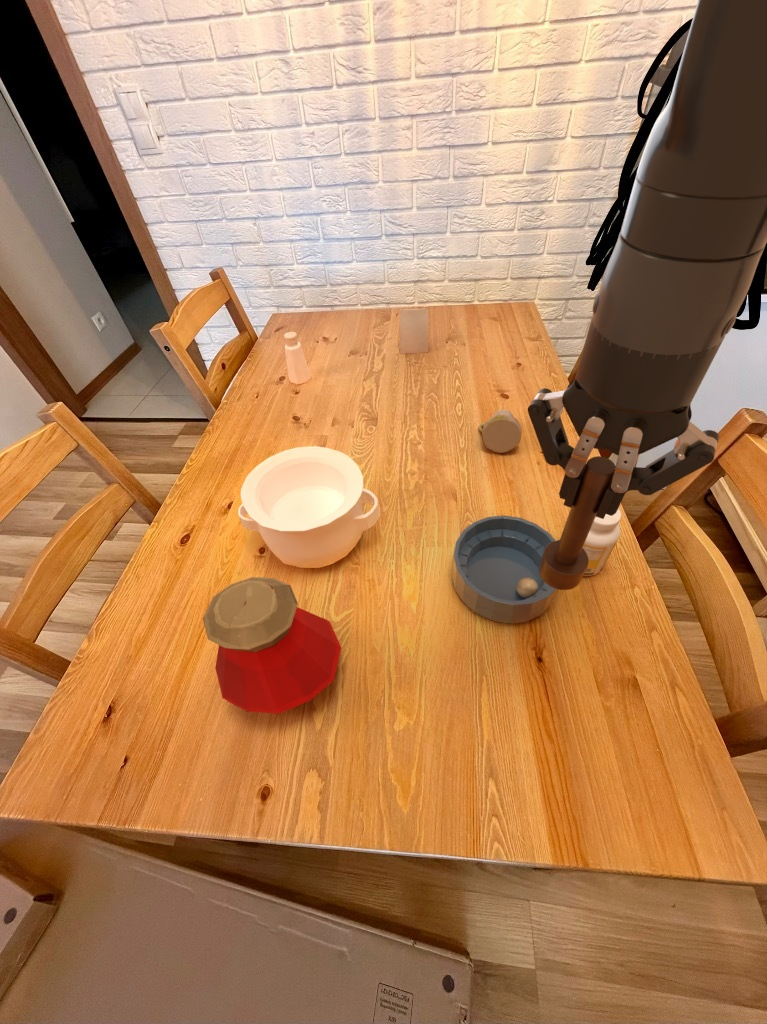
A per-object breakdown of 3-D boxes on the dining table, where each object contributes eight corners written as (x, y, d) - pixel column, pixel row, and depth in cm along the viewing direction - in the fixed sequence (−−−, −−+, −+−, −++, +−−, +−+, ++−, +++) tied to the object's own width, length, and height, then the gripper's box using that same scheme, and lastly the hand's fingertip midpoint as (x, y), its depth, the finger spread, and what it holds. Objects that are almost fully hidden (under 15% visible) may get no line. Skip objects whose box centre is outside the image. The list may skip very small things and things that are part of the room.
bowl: (568, 563, 71) (578, 539, 66) (534, 644, 63) (543, 623, 58) (476, 526, 76) (480, 502, 72) (434, 596, 68) (435, 574, 64)
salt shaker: (316, 377, 108) (307, 333, 100) (297, 387, 106) (286, 343, 98) (302, 369, 111) (293, 325, 103) (284, 378, 109) (272, 334, 100)
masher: (588, 568, 50) (638, 459, 37) (571, 597, 47) (618, 493, 35) (549, 549, 51) (585, 440, 39) (531, 576, 49) (563, 470, 37)
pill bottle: (593, 541, 73) (617, 491, 64) (609, 576, 69) (637, 527, 60) (553, 545, 73) (571, 495, 64) (566, 580, 69) (587, 531, 60)
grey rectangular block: (428, 352, 112) (428, 312, 105) (400, 353, 113) (399, 313, 105) (427, 344, 115) (428, 305, 107) (400, 345, 115) (399, 306, 108)
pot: (380, 494, 83) (375, 441, 73) (384, 575, 71) (379, 525, 62) (259, 502, 83) (239, 451, 74) (243, 584, 72) (217, 536, 62)
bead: (517, 574, 67) (517, 593, 68) (515, 580, 65) (515, 600, 65) (538, 575, 66) (538, 595, 67) (538, 581, 64) (538, 602, 64)
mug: (518, 422, 93) (535, 401, 84) (504, 465, 92) (520, 449, 82) (483, 410, 94) (496, 388, 84) (468, 452, 92) (480, 435, 82)
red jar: (342, 621, 66) (320, 537, 51) (351, 718, 58) (328, 650, 43) (233, 638, 66) (178, 558, 51) (225, 739, 57) (156, 678, 42)
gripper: (797, 312, 27) (678, 505, 40) (564, 276, 33) (526, 456, 46) (789, 376, 23) (660, 568, 36) (526, 323, 29) (496, 506, 42)
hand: (585, 505), depth 41 cm, fingers closed on masher, 2 cm apart
